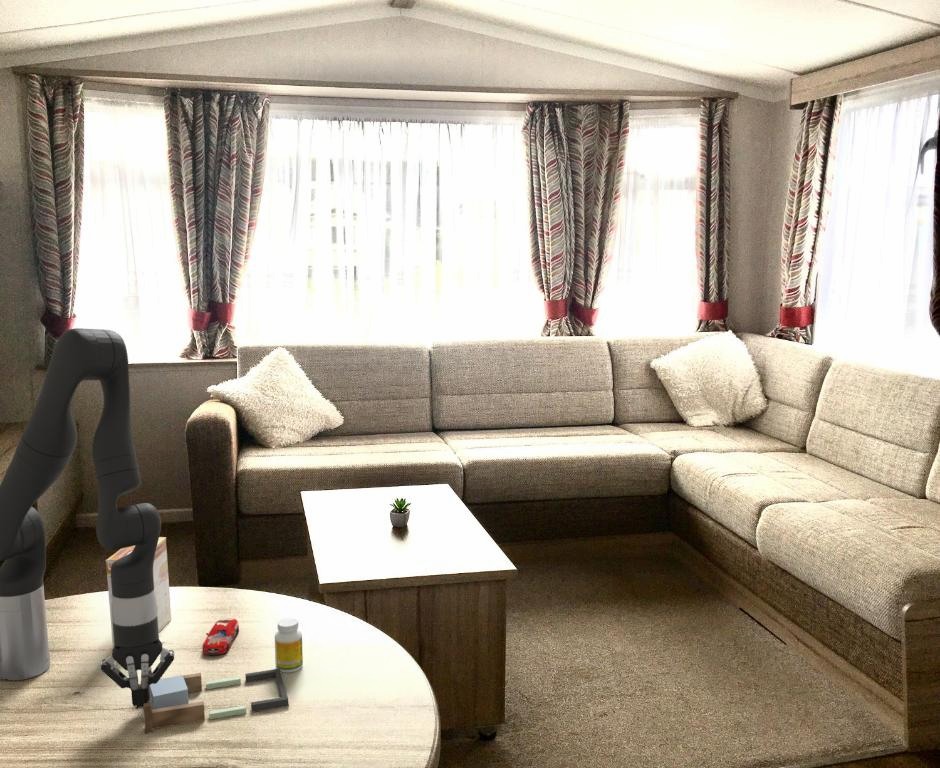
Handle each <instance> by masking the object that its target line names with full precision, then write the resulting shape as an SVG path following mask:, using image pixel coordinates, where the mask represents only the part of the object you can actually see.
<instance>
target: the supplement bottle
mask: <svg viewBox="0 0 940 768" xmlns="http://www.w3.org/2000/svg"><path fill="white" fill-rule="evenodd" d="M274 653H275V654H274V656H275V657H274V658H275V660H274V663H275V669H280V671H281V673H285V674H286V673H287V674H291V673H295V672H297V671H299V670H300V669H302V667H303V665H304V664H303V663H304V660H303V659H304V656H303V633H302V631H301V630H300V629H299V620H298V619H297V618H293V617H289V618H288V617H286V618H283V619H280V620H278V622H277V631H276V632H275V634H274Z"/></svg>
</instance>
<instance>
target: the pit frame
mask: <svg viewBox="0 0 940 768" xmlns="http://www.w3.org/2000/svg"><path fill="white" fill-rule="evenodd" d="M244 675H245V683H246V684H247V683H253V682H261V681H265V680H266V681H268V680H273V679H275V682H276V685H277V689H278V692H279V696H280V697H276V698H269V699H263V700H257V701H252V702H250V708H251V713H255V712H256V713H257V712H261V711H268V710H273V709H278V708H286V707H290V706H289V702H290V701H289V696H288V693H287V689H286V686H285V683H284V678H283V675H282V672H281V671H280V669H276V668H274V669H267V670H261V671H255V672H254V671H253V672H250V673H249V672H248V673H245V674H244Z"/></svg>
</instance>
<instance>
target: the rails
mask: <svg viewBox="0 0 940 768" xmlns="http://www.w3.org/2000/svg"><path fill="white" fill-rule="evenodd" d="M241 681H242V679H241V676H236V677H229V678H221V679H217V680H209V681H205V688H206V690H208V689H209V690H210V689H214V688H222V687H229V686H235V685H241V684H242V683H241ZM243 714H247V705H240V706H234V707H228V708H221V709H215V710H211V711H210V710H209V711H208V718H209V720H213V719H220V718H224V717H225V718H227V717H231V716H237V715H243Z"/></svg>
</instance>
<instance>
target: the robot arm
mask: <svg viewBox="0 0 940 768" xmlns="http://www.w3.org/2000/svg"><path fill="white" fill-rule="evenodd" d="M48 363H49V365H48V367H47V370H46V374H45V377H44V380H43V384H42V387H41V390H40V392H39V395H38V397H37V400H36V403H35V406H34V408H33V410H32V412H31V415H30V418H29V419H28V421H27V424H26V426H25V428H24V430H23V432H22V434H21V437H20V439H19V441H18V444H17V446H16V448H15V451H14V454H13V456H12V458H11V461H10V463H9V465H8V468H7V469H6V472H5V473H4V476H3V478H2V481H1V483H0V562H3V563H2V565H1V566H0V680H5V679H8V680H7V681H22V680H26V679H27V680H28V679H31V678H34V677H37V676H39V675H41V674H43V673H45V672H46V671H47V670H48V669H49V668H50V666H51V659H50V658H51V656H50V655H51V654H50V647H49V645H50V644H49V637H48V636H49V635H48V624H47V611H46V610H47V609H46V600H45V599H46V598H45V589H44V575H45V571H46V567H47V555H46V554H47V550H46V543H47V542H46V531H45V530H46V529H45V525H44V521H43V518H42V516H41V514H40V513H39V512H38V510H37V509H36V508H34V507H33V506H34V504H35V503H36V502H37V501H38V500H39V499H40V498H41V497H42V496H43V495H44V494H45V493H46V492H47V491H48V490H49V489H50V488H51V487H52V486H53V485H54V484H55V482H57V480H58V479H59V478H60V476H61V475H62V474H63V473H64V471H65V469H66V468H67V465H68V464H69V463H70V460H71V457H72V455H73V453H74V451H75V449H76V446H77V443H78V429H77V425H76V421H75V419H74V415H73V412H72V401H73V398H74V396H75V393H76V390H77V388H78V387H79V385H80V384H81V383H82V382H83V381H99V382H100V386H101V389H102V393H103V406H102V411H101V415H100V418H99V421H98V424H97V426H96V430H95V433H94V436H93V439H92V445H91V446H92V448H91V453H92V461H93V464H94V470H95V471H94V472H95V475H96V481H97V489H98V507H97V508H98V509H97V517H96V525H95V526H96V527H95V534H96V537H97V541H98V542H99V544H100V545H101V546H102V547H103V548H104V549H105V550H107V551H108V550H109V551H117V550H120V549H122V548H126V547H131V546H135V547H134V549H133V551H132V552H131V553H129V554H128V555H126V556H124V557H122V558H120V559H118V560H116V561H115V562H114V563H113V564H112V566H111V585H112V621H113V635H114V648H113V647H112V650H111V655H109V656H108V657H107V658H104V659H102V660H101V664H100V671H102V672H103V673H104V674H105V675H106V676H107V677H108V678H109V679H111V680H112V681H113V682H114V683H115V684H116V685H117V686H118V687H120V688H121V689H130V693H131V704H132V706H134V707H135V706H136V709H142V708H143V709H144V703H150V699H149V690H148V687H149V685H151V684H156V683H157V682H158V681H159V680H160V679H162V677H163V675H164V674H165V672H166V671H167V670H168V668H169V667H170V666H171V664H172V663H173V661H174V660H175V652H174V650H173V649H166V648H164V647H163V643H162V642H161V640H160V635H159V634H160V632H159V631H158V615H157V610H158V607H157V601H156V595H155V590H154V578H153V564H154V558H155V552H156V548H157V544H158V540H159V537H161V530H162V519H161V515H160V513H159V511H158V509H157V508H156V506H154V505H153V504H152V503H149V502H145V503H144V502H143V503H137V504H131V505H126V506H122V507H117V506H118V500H119V498H120V497H122V496H124V495H126V494H129V493H131V492H133V491H136V490H137V489H139V488H140V486H141V484H142V479H141V473H140V468H139V464H138V459H137V455H136V454H137V453H136V449H135V445H134V439H133V432H132V421H131V419H132V418H131V389H130V369H129V366H130V365H129V356H128V349H127V346H126V343H125V340H124V338H123V337H122V336H121V334H119V333H118V332H116V331H114V330H111V329H103V328H102V329H98V328H97V329H96V328H82V327H81V328H80V327H79V328H78V327H76V328H70V329H67V330H65V331H64V332H63V333H62V334H61V335H60V337H59V338H58V339H57V341H56V344H55V345H54V348H53V351H52V354H51V356H50V360H49V362H48ZM158 657H159V660H160V662H159V663H158V664H157V665H156V667H155V668H154V670H152V674H150V675H148V668H150V667H151V668H152V666H153V665H154V664H155V662H156V660H157V659H158ZM117 664H118V665H120V666H121V668H123V669H124V670H125V671H126V672H127V673H128V676H126V675H125V674H124V672H122V671H121V670H120V669H119V668H118V667H117ZM138 671H140V684H139V676H138Z"/></svg>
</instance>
